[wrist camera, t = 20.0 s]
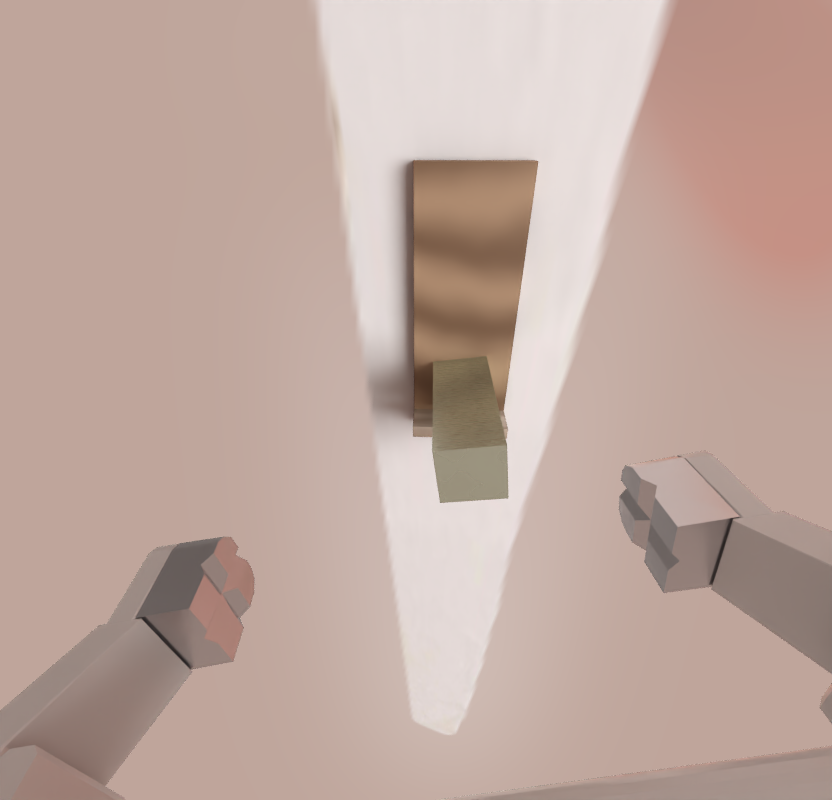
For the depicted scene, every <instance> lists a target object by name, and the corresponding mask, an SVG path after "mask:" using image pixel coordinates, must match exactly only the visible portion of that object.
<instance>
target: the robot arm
mask: <svg viewBox="0 0 832 800" xmlns="http://www.w3.org/2000/svg"><path fill="white" fill-rule="evenodd" d="M621 481H622V482H623V484H624V485H625V486H626V488H627V489H626V490H625V491H624V492H623V493H622V494H621V495H620V497H619V511H620V515H621V520H622V523H623V525H624V528H625V530H626V532H627V534H628V535H629V537H630V539H631V541H632V542H633V543H634V544H636V545H638V546H640V547H641V548H643V549H644V550H646V555H645V563H646V565H647V567H648V569H649V570H650V572H651V573H652V575H653V577H654V578H655V580H656V581H657V583H658V585H659V586H660V588H661V589H662V591H663V592H664V593H667V592H674V591H682V590H689V589H697V588H705V587H712V590H713V591H715V592H716V593H718V594H719V595H720V596H722V597H723V598H725V599H726V600H728V601H729V602H731V603H732V604H733V605H735V606H736V607H737V608H739V609H740V610H742V611H743V612H744V613H746V614H747V615H749V616H750V617H752V618H753V619H755V620H756V621H757V622H759V623H760V624H762V625H763V626H765V627H766V628H767V629H769V630H770V631H772V632H773V633H774V634H776V635H777V636H779V637H780V638H781V639H783V640H784V641H786V642H787V643H789V644H790V645H791V646H793V647H794V648H796V649H797V650H798V651H800V652H801V653H803V654H804V655H806V656H807V657H808V658H810V659H811V660H813V661H814V662H816V663H817V664H818V665H820V666H821V667H823V668H824V669H825V670H827V671H828V672H830V673H831V674H832V531H830V530H828V529H825V528H823V527H820V526H818V525H815V524H813V523H811V522H808V521H806V520H803V519H801V518H799V517H796V516H794V515H791V514H789V513H787V512H784V511H780V512H773V511H772V510H771V509H770V508H769V507H768V506H767V505H766V504H765V503H764V502H762V500H760V499H759V498H758V497H757V496H756V495H755V494H754V493H753V492H752V491H751V490H750V489H749V488H748V487H746V485H745V484H743V483H742V482H741V481H740V480H739V479H738V478H737V477H736V476H735V475H734V474H733V473H732V472H731V471H730V470H729V469H728V468H727V467H726V466H724V465H723V464H722V463H721V462H720V461H719V460H718V459H717V458H716V457H715V456H714V455H713V454H711V453H709V452H707V451H700V452H695V453H689V454H683V455H678V456H673V457H667V458H662V459H657V460H651V461H646V462H641V463H635V464H630V465H625V467H624V469H623V470H622V477H621ZM237 550H238V546H237V545H236V543H235V542H234V540H233V539H232V538H231V537H219V538H213V539H205V540H199V541H192V542H186V543H180V544H176V545H169V546H162V547H157V548H156V549H154V550H153V551H152V552H150V553H149V554H148V556H147V558H146V560H145V561H144V563H143V564H142V566H141V568H140V569H139V571H138V573H137V574H136V576H135V578H134V579H133V581H132V583H131V584H130V586H129V588H128V589H127V591H126V593H125V594H124V596H123V598H122V599H121V601H120V603H119V604H118V606H117V608H116V610H115V611H114V613H113V614H112V616H111V618H110V620H109V621H108V623H107V624H104V625H99V626H98V627H97V628H96V629H94V630H93V631H92V632H91V633H90V634H89V635H87V636H86V637H85V638H84V639H83V640H82V641H81V642H79V643H78V644H77V645H76V646H75V647H74V648H72V649H71V650H70V651H69V652H68V653H66V654H65V655H64V656H63V657H62V658H61V659H60V660H59V661H57V662H56V663H55V664H54V665H53V666H51V667H50V668H49V669H48V670H47V671H46V672H44V673H43V674H42V675H41V676H40V677H39V678H38V679H36V680H35V681H34V682H33V683H32V684H31V685H29V686H28V687H27V688H26V689H25V690H24V691H23V692H21V693H20V694H19V695H18V696H17V697H15V698H14V699H13V700H12V701H11V702H10V703H9V704H7V705H6V706H5V707H4V708H3V709H2V710H0V800H125V799H124V797H122V796H121V795H119V794H117V793H115V792H114V791H112V790H110V789H109V788H107V787H105V785H106V784H107V783H108V782H109V780H110V779H111V778H112V776H113V775H114V774H115V773H116V771H117V770H118V769H119V767H120V766H121V765H122V763H123V762H124V761H125V759H126V758H127V757H128V755H129V754H130V753H131V751H132V750H133V749H134V748H135V746H136V745H137V743H138V742H139V741H140V740H141V738H142V737H143V736H144V734H145V733H146V732H147V731H148V729H149V728H150V727H151V725H152V724H153V723H154V721H155V720H156V719H157V717H158V716H159V715H160V713H161V712H162V711H163V709H164V708H165V707H166V705H167V704H168V703H169V702H170V700H171V699H172V698H173V696H174V695H175V694H176V693H177V691H178V690H179V689H180V687H181V686H182V684H183V683H184V682H185V681H186V679H187V678H188V677H189V675H190V674H191V673H192V671H191V669H196V668H201V667H207V666H212V665H217V664H223V663H228V662H233V661H234V658H235V654H236V651H237V648H238V644H239V641H240V638H241V635H242V631H243V628H244V627H243V624H242V622H241V620H240V617H241V616H242V615H243V614H244V613H245V612H246V610H247V609H248V608H249V607H250V605H251V602H252V598H253V595H254V575H253V571H252V568H251V566H250V565H249V563H248V562H247V560H245V559H243V558H241V557H239V556H237V555H236V553H237ZM820 709H821V710H822V711H823V713H824V714H825V715H826V717H827V718H828V719H829V720H830V722H831V723H832V684H831V685H830V686H829V688H828V689H827V691H826V692H825V694H824V695H823V696H822V699H821V703H820ZM440 800H832V746H828V747H820V748H813V749H805V750H798V751H791V752H783V753H776V754H769V755H762V756H754V757H747V758H740V759H732V760H725V761H718V762H710V763H704V764H695V765H689V766H681V767H675V768H667V769H659V770H652V771H645V772H637V773H630V774H622V775H615V776H608V777H600V778H593V779H586V780H578V781H571V782H564V783H556V784H550V785H542V786H535V787H527V788H521V789H512V790H505V791H498V792H491V793H483V794H476V795H469V796H462V797H454V798H447V799H440Z"/></svg>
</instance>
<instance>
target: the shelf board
mask: <svg viewBox="0 0 832 800" xmlns="http://www.w3.org/2000/svg"><path fill="white" fill-rule="evenodd" d="M537 167H538V161H535V160H414V161H413V180H414V420H413V437H432V434H433V362H435V361H444V360H454V359H463V358H473V357H482V356H487V360H488V364H489V368H490V373H491V377H492V382H493V386H494V390H495V395H496V399H497V404H498V408H499V412H500V417H501V421H502V426H503V430H504V434H505V439H506V438H507V431H508V427H507V423H506V419H505V415H504V404H505V396H506V389H507V382H508V375H509V368H510V361H511V354H512V346H513V339H514V332H515V325H516V318H517V311H518V303H519V296H520V289H521V282H522V275H523V268H524V261H525V253H526V246H527V239H528V232H529V225H530V218H531V210H532V203H533V196H534V189H535V182H536V175H537Z"/></svg>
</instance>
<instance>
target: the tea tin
mask: <svg viewBox="0 0 832 800" xmlns="http://www.w3.org/2000/svg"><path fill="white" fill-rule="evenodd" d="M432 452H433V459H434V466H435V472H436V479H437V485H438V492H439V498H440V503H445V502H460V501H475V500H489V499H504V498H508V466H507V443H506V439H505V434H504V430H503V426H502V421H501V417H500V412H499V408H498V404H497V399H496V395H495V390H494V386H493V382H492V377H491V373H490V368H489V364H488V360H487V356H482V357H473V358H463V359H454V360H444V361H435V362H433V434H432Z"/></svg>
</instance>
